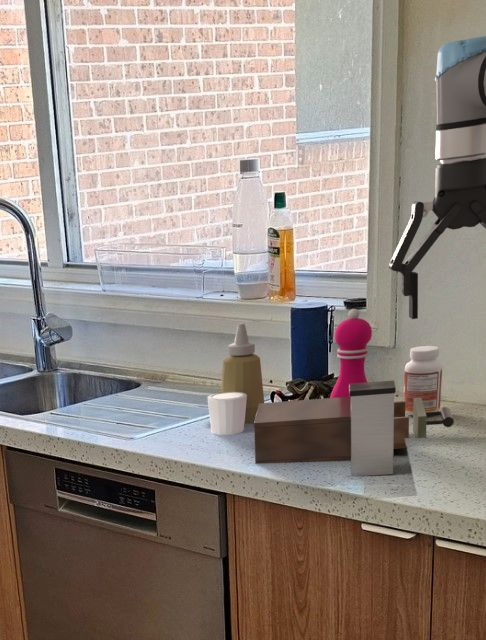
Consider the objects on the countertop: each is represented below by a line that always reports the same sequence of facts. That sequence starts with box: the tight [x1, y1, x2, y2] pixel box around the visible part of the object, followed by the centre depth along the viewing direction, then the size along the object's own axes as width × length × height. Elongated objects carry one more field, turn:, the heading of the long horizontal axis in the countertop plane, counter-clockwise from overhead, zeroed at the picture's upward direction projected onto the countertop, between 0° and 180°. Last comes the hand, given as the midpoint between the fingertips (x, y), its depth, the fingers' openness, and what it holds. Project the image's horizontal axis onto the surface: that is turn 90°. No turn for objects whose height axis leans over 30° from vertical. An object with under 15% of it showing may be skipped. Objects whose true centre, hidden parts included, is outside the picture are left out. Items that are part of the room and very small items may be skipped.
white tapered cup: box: [207, 392, 247, 436], centre depth 218 cm, size 7×7×7 cm
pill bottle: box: [402, 345, 443, 416], centre depth 213 cm, size 6×6×11 cm
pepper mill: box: [329, 308, 373, 398], centre depth 208 cm, size 7×7×20 cm
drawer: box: [393, 398, 455, 450], centre depth 196 cm, size 19×13×5 cm
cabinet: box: [253, 397, 351, 465], centre depth 199 cm, size 16×15×7 cm
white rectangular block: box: [349, 379, 397, 477], centre depth 183 cm, size 6×5×13 cm
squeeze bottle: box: [219, 322, 265, 425], centre depth 222 cm, size 8×8×18 cm
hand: (460, 312), depth 182 cm, fingers open, 13 cm apart
